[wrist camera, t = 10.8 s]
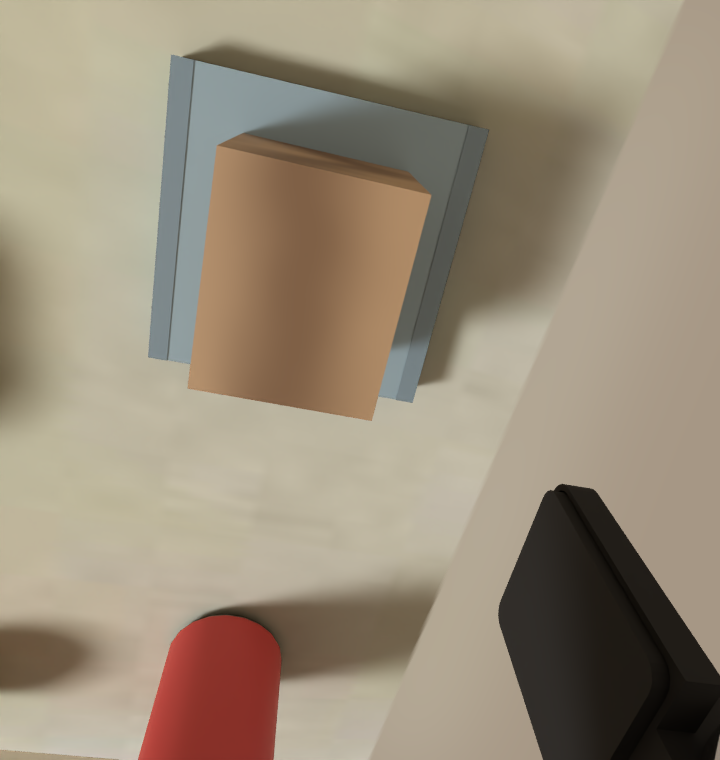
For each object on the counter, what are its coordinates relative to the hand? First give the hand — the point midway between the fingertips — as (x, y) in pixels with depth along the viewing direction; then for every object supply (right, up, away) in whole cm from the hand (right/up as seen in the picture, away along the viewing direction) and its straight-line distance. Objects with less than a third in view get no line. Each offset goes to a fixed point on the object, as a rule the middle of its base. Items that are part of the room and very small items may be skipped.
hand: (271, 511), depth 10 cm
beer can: (-7, -14, +27) cm, 31 cm away
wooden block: (-1, +7, +15) cm, 17 cm away
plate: (-1, +8, +16) cm, 18 cm away
